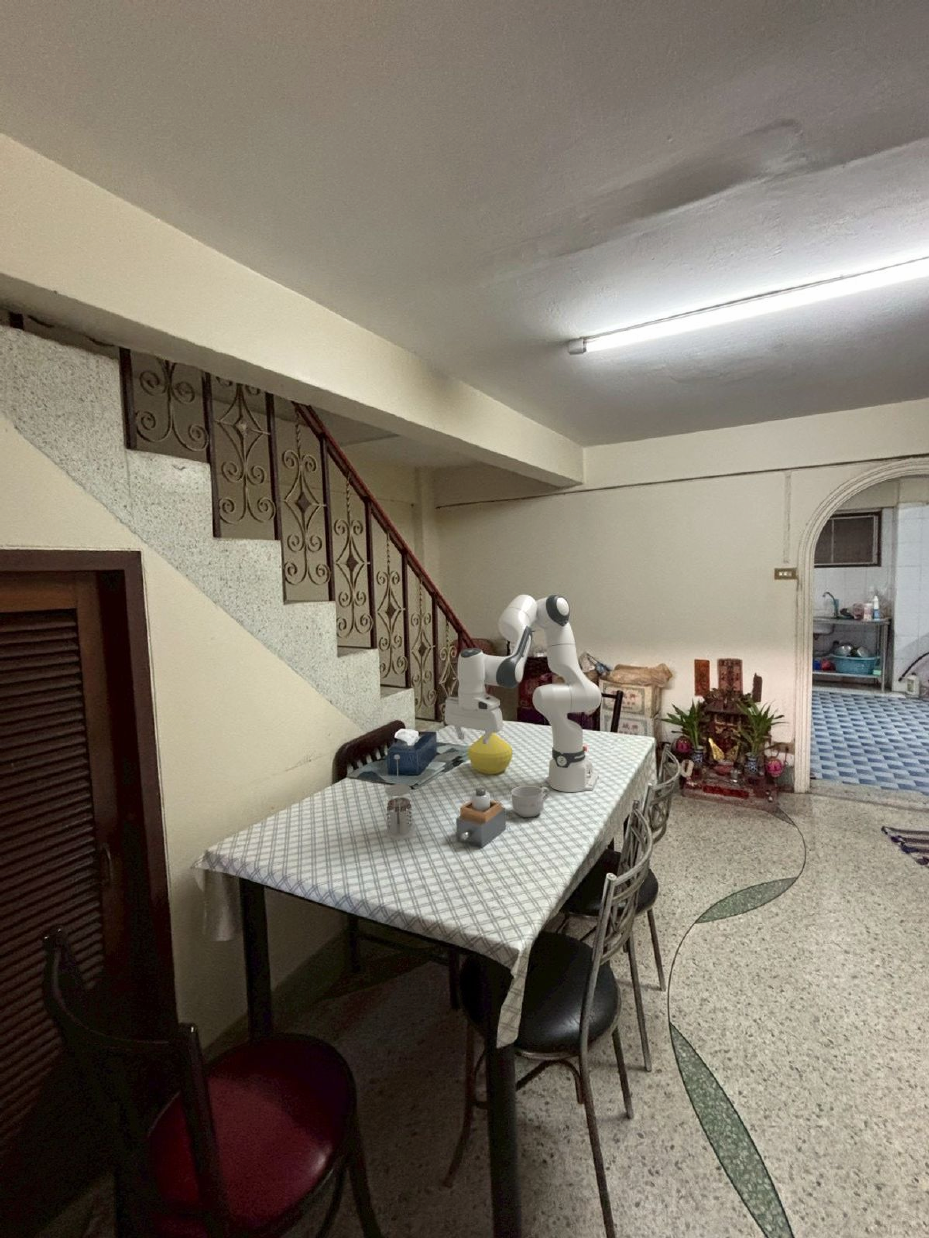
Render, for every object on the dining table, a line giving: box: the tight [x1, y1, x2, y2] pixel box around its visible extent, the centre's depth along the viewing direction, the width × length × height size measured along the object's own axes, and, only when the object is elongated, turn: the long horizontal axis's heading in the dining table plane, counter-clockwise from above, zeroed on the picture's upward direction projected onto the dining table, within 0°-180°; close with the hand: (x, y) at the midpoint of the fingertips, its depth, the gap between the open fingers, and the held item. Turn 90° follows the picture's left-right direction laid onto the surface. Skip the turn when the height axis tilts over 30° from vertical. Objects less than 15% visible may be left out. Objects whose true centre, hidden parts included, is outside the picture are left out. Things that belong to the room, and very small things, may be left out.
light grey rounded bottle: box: [471, 787, 491, 812], centre depth 166 cm, size 6×6×8 cm
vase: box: [467, 733, 514, 775], centre depth 222 cm, size 18×18×19 cm
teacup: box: [510, 785, 550, 818], centre depth 182 cm, size 14×11×8 cm
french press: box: [384, 754, 416, 840], centre depth 169 cm, size 10×12×25 cm
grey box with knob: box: [455, 799, 507, 849], centre depth 166 cm, size 17×9×10 cm, turn 146°
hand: (473, 741), depth 175 cm, fingers open, 8 cm apart
